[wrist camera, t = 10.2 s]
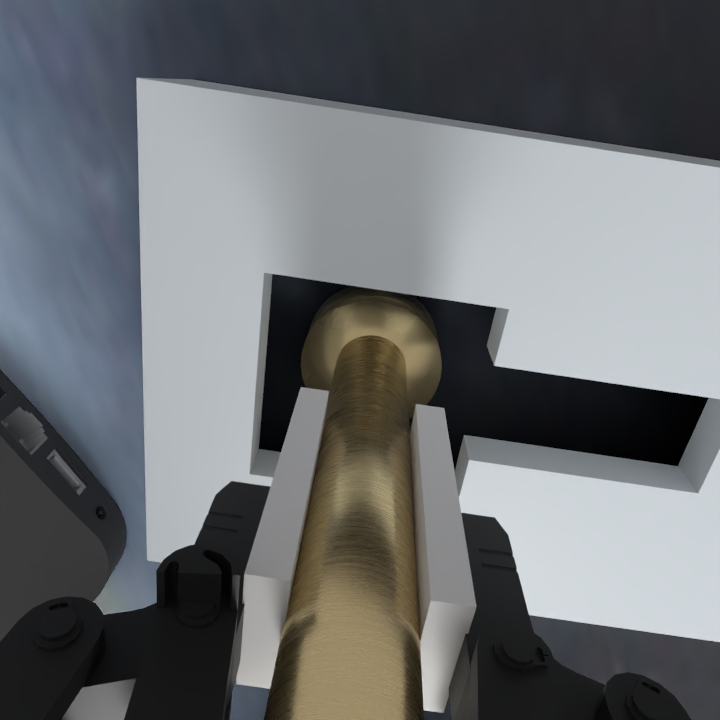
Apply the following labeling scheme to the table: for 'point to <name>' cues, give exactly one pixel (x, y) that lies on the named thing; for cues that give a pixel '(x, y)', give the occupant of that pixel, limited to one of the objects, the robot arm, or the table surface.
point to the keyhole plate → (449, 282)
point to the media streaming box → (49, 515)
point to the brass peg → (359, 517)
